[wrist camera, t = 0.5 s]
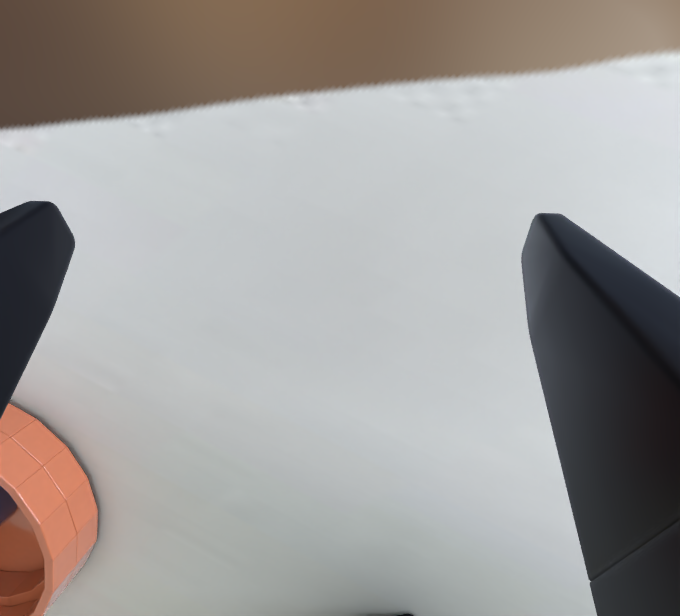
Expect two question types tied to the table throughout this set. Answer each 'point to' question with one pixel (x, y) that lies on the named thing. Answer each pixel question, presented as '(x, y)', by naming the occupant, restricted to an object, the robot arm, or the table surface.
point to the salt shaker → (6, 506)
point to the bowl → (41, 516)
